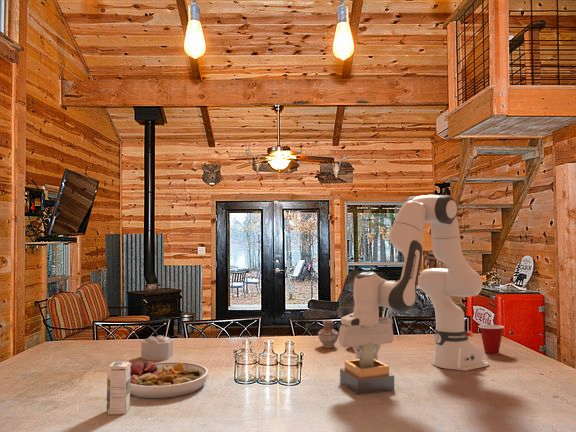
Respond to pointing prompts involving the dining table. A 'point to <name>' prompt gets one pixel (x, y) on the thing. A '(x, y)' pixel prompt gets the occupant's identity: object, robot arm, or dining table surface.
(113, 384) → the syrup box
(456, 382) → the dining table surface
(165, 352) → the white lumpy-lid tub
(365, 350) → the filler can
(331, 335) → the pottery
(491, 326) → the plastic cup
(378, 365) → the tan and grey box
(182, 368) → the bowl
